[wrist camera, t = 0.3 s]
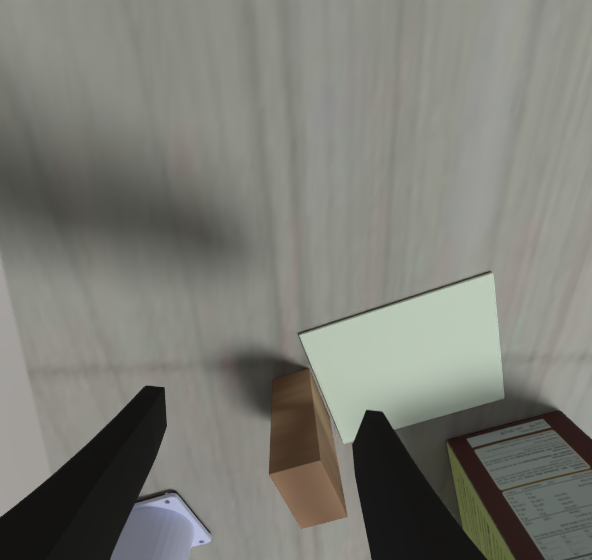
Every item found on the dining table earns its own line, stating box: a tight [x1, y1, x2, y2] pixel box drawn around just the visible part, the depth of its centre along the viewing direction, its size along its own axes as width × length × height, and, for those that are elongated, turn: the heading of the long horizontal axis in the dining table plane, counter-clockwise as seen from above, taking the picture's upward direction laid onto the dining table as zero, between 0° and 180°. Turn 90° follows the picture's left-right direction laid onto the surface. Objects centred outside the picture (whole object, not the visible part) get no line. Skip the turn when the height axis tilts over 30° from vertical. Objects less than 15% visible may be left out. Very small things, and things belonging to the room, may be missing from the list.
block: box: [269, 368, 348, 529], centre depth 21 cm, size 3×6×8 cm, turn 19°
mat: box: [299, 272, 505, 444], centre depth 23 cm, size 14×12×1 cm
